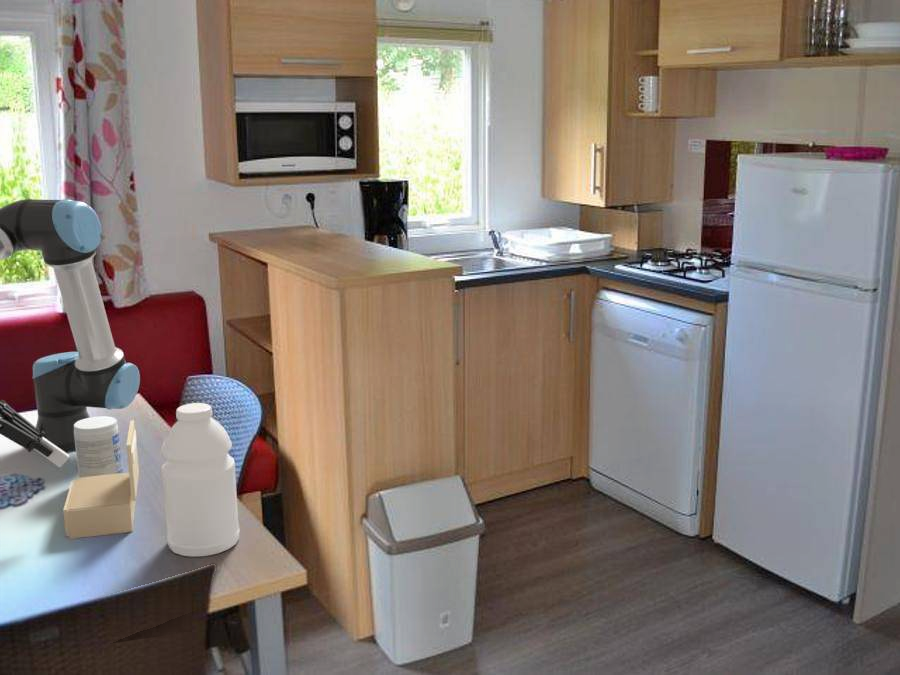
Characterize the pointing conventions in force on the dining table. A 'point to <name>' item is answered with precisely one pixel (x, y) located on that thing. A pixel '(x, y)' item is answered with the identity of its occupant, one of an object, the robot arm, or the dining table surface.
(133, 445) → the flap
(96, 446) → the supplement tub
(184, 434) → the bottle
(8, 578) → the dining table surface
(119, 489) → the carton
